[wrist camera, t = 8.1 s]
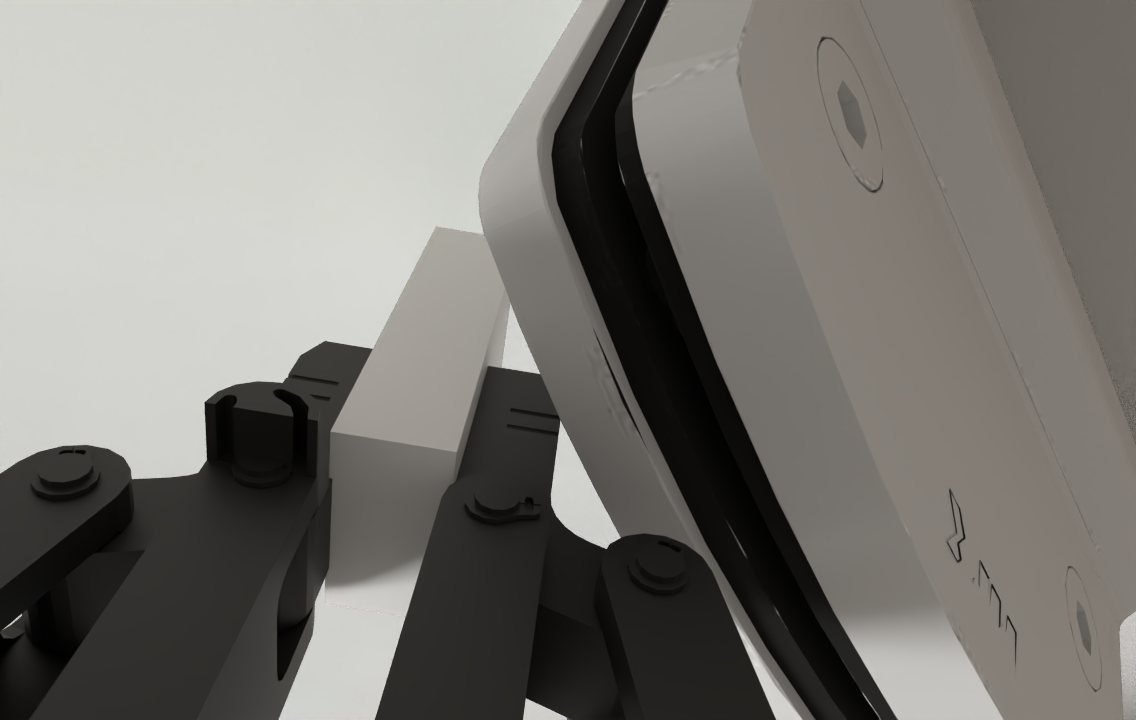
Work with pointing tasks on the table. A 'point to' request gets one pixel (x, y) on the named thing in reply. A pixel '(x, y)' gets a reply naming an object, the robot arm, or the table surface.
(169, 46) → the table surface
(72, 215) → the table surface
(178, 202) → the table surface
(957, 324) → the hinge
